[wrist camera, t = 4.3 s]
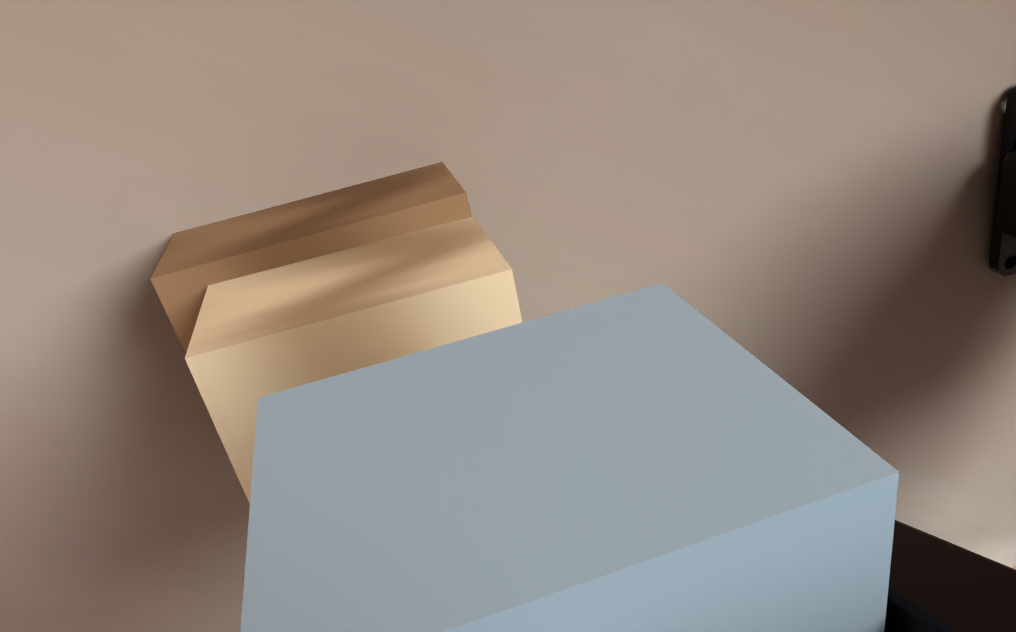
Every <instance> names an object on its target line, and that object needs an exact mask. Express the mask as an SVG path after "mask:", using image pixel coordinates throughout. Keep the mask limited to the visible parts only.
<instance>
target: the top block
mask: <svg viewBox="0 0 1016 632" xmlns="http://www.w3.org/2000/svg"><path fill="white" fill-rule="evenodd" d="M898 481H899V471H898V470H896V469H895V468H894V467H893V466H891V465H890V464H889V463H888V462H886V461H885V460H884V459H883V458H881V457H880V456H879V455H877V454H876V453H875V452H874V451H872V450H871V449H870V448H869V447H867V446H866V445H865V444H864V443H862V442H861V441H860V440H859V439H857V438H856V437H855V436H854V435H852V434H851V433H850V432H849V431H847V430H846V429H845V428H844V427H842V426H841V425H840V424H839V423H837V422H836V421H835V420H834V419H832V418H831V417H830V416H829V415H827V414H826V413H825V412H824V411H822V410H821V409H820V408H819V407H817V406H816V405H815V404H814V403H812V402H811V401H810V400H809V399H807V398H806V397H805V396H804V395H802V394H801V393H800V392H799V391H797V390H796V389H795V388H794V387H792V386H791V385H790V384H789V383H787V382H786V381H785V380H784V379H782V378H781V377H780V376H779V375H777V374H776V373H775V372H773V371H772V370H771V369H770V368H768V367H767V366H766V365H765V364H763V363H762V362H761V361H760V360H758V359H757V358H756V357H755V356H753V355H752V354H751V353H750V352H748V351H747V350H746V349H745V348H743V347H742V346H741V345H740V344H738V343H737V342H736V341H735V340H733V339H732V338H731V337H730V336H728V335H727V334H726V333H725V332H723V331H722V330H721V329H720V328H718V327H717V326H716V325H715V324H713V323H712V322H711V321H710V320H708V319H707V318H706V317H705V316H703V315H702V314H701V313H700V312H698V311H697V310H696V309H695V308H693V307H692V306H691V305H690V304H688V303H687V302H686V301H685V300H683V299H682V298H681V297H680V296H678V295H677V294H676V293H675V292H673V291H672V290H671V289H669V288H668V287H667V286H666V285H664V284H663V283H660V284H656V285H653V286H649V287H646V288H642V289H639V290H635V291H632V292H628V293H625V294H621V295H618V296H614V297H611V298H607V299H604V300H600V301H596V302H593V303H589V304H586V305H582V306H579V307H575V308H572V309H568V310H565V311H561V312H558V313H554V314H551V315H547V316H544V317H540V318H537V319H533V320H530V321H526V322H523V323H519V324H516V325H512V326H508V327H505V328H501V329H498V330H494V331H491V332H487V333H484V334H480V335H477V336H473V337H470V338H466V339H463V340H459V341H456V342H452V343H449V344H445V345H442V346H438V347H435V348H431V349H427V350H424V351H420V352H417V353H413V354H410V355H406V356H403V357H399V358H396V359H392V360H389V361H385V362H382V363H378V364H375V365H371V366H368V367H364V368H361V369H357V370H354V371H350V372H347V373H343V374H339V375H336V376H332V377H329V378H325V379H322V380H318V381H315V382H311V383H308V384H304V385H301V386H297V387H294V388H290V389H287V390H283V391H280V392H276V393H273V394H269V395H266V396H262V397H259V398H258V405H257V418H256V431H255V444H254V457H253V470H252V483H251V497H250V510H249V523H248V536H247V549H246V562H245V576H244V589H243V602H242V615H241V628H240V632H884V629H885V619H886V608H887V597H888V587H889V576H890V566H891V555H892V544H893V534H894V523H895V512H896V502H897V491H898Z"/></svg>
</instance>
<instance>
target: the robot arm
mask: <svg viewBox="0 0 1016 632" xmlns="http://www.w3.org/2000/svg"><path fill="white" fill-rule="evenodd" d="M989 268H990V269H991V270H992V271H994V272H997V273H999V274H1001V275H1004V276H1007V275H1012V274H1015V273H1016V87H1015V88H1014V89H1013V90H1012V91H1011V93H1010V94H1009V96H1008V100H1007V104H1006V113H1005V122H1004V130H1003V139H1002V148H1001V157H1000V166H999V175H998V184H997V193H996V202H995V211H994V219H993V228H992V237H991V246H990V255H989ZM884 632H1016V570H1015V569H1012V568H1010V567H1008V566H1005V565H1003V564H1000V563H998V562H996V561H993V560H991V559H988V558H986V557H983V556H981V555H979V554H976V553H974V552H971V551H969V550H967V549H964V548H962V547H959V546H957V545H954V544H952V543H950V542H947V541H945V540H942V539H940V538H938V537H935V536H933V535H930V534H928V533H925V532H923V531H921V530H918V529H916V528H913V527H911V526H909V525H906V524H904V523H901V522H899V521H896V520H895V523H894V534H893V544H892V555H891V566H890V576H889V587H888V597H887V608H886V619H885V629H884Z"/></svg>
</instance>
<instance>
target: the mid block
mask: <svg viewBox="0 0 1016 632" xmlns="http://www.w3.org/2000/svg"><path fill="white" fill-rule="evenodd" d="M519 323H522V319H521V313H520V308H519V303H518V298H517V293H516V288H515V283H514V277H513V272H512V269H511V267H510V266H509V265H508V263H507V262H506V260H505V259H504V258H503V256H502V255H501V254H500V252H499V251H498V250H497V248H496V247H495V246H494V244H493V243H492V241H491V240H490V239H489V237H488V236H487V235H486V233H485V232H484V231H483V229H482V228H481V226H480V225H479V224H478V222H477V221H476V220H475V218H474V217H470V218H466V219H462V220H458V221H455V222H451V223H447V224H443V225H439V226H435V227H431V228H428V229H424V230H420V231H416V232H412V233H408V234H404V235H401V236H397V237H393V238H389V239H385V240H381V241H377V242H374V243H370V244H366V245H362V246H358V247H354V248H350V249H347V250H343V251H339V252H335V253H331V254H327V255H323V256H320V257H316V258H312V259H308V260H304V261H300V262H297V263H293V264H289V265H285V266H281V267H277V268H273V269H270V270H266V271H262V272H258V273H254V274H250V275H246V276H243V277H239V278H235V279H231V280H227V281H223V282H219V283H216V284H212V285H208V287H207V290H206V293H205V296H204V300H203V303H202V306H201V309H200V312H199V315H198V318H197V321H196V325H195V328H194V331H193V334H192V337H191V340H190V343H189V346H188V350H187V353H186V356H185V360H186V362H187V365H188V367H189V369H190V371H191V374H192V376H193V378H194V380H195V383H196V385H197V387H198V389H199V392H200V394H201V396H202V398H203V401H204V403H205V405H206V407H207V410H208V412H209V414H210V416H211V419H212V421H213V423H214V425H215V428H216V430H217V432H218V434H219V436H220V439H221V441H222V443H223V445H224V448H225V450H226V452H227V454H228V457H229V459H230V461H231V463H232V466H233V468H234V470H235V472H236V475H237V477H238V479H239V481H240V484H241V486H242V488H243V490H244V493H245V495H246V497H247V499H248V502H249V504H250V497H251V483H252V470H253V457H254V444H255V431H256V418H257V405H258V398H259V397H262V396H266V395H269V394H273V393H276V392H280V391H283V390H287V389H290V388H294V387H297V386H301V385H304V384H308V383H311V382H315V381H318V380H322V379H325V378H329V377H332V376H336V375H339V374H343V373H347V372H350V371H354V370H357V369H361V368H364V367H368V366H371V365H375V364H378V363H382V362H385V361H389V360H392V359H396V358H399V357H403V356H406V355H410V354H413V353H417V352H420V351H424V350H427V349H431V348H435V347H438V346H442V345H445V344H449V343H452V342H456V341H459V340H463V339H466V338H470V337H473V336H477V335H480V334H484V333H487V332H491V331H494V330H498V329H501V328H505V327H508V326H512V325H516V324H519Z"/></svg>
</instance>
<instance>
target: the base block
mask: <svg viewBox="0 0 1016 632" xmlns="http://www.w3.org/2000/svg"><path fill="white" fill-rule="evenodd" d="M470 217H472V216H471V211H470V207H469V203H468V199H467V194H466V192H465V191H464V189H463V188H462V187H461V185H460V184H459V183H458V182H457V180H456V179H455V178H454V177H453V175H452V174H451V173H450V172H449V170H448V169H447V168H446V166H445V165H444V164H443V163H442V162H440V163H437V164H433V165H429V166H425V167H422V168H418V169H414V170H410V171H407V172H403V173H399V174H395V175H392V176H388V177H384V178H380V179H377V180H373V181H369V182H365V183H362V184H358V185H354V186H350V187H347V188H343V189H339V190H335V191H332V192H328V193H324V194H320V195H317V196H313V197H309V198H305V199H302V200H298V201H294V202H290V203H287V204H283V205H279V206H275V207H271V208H268V209H264V210H260V211H256V212H253V213H249V214H245V215H241V216H238V217H234V218H230V219H226V220H223V221H219V222H215V223H211V224H208V225H204V226H200V227H196V228H193V229H189V230H185V231H181V232H178V233H174V234H173V236H172V238H171V240H170V242H169V244H168V246H167V248H166V250H165V252H164V253H163V255H162V257H161V259H160V261H159V263H158V265H157V267H156V269H155V271H154V273H153V274H152V276H151V278H150V280H151V282H152V284H153V286H154V288H155V290H156V292H157V295H158V297H159V299H160V301H161V303H162V305H163V307H164V310H165V312H166V314H167V316H168V318H169V320H170V322H171V324H172V327H173V329H174V331H175V333H176V335H177V337H178V339H179V342H180V344H181V346H182V348H183V350H184V352H185V354H186V353H187V350H188V346H189V343H190V340H191V337H192V334H193V331H194V328H195V325H196V321H197V318H198V315H199V312H200V309H201V306H202V303H203V300H204V296H205V293H206V290H207V287H208V285H212V284H216V283H219V282H223V281H227V280H231V279H235V278H239V277H243V276H246V275H250V274H254V273H258V272H262V271H266V270H270V269H273V268H277V267H281V266H285V265H289V264H293V263H297V262H300V261H304V260H308V259H312V258H316V257H320V256H323V255H327V254H331V253H335V252H339V251H343V250H347V249H350V248H354V247H358V246H362V245H366V244H370V243H374V242H377V241H381V240H385V239H389V238H393V237H397V236H401V235H404V234H408V233H412V232H416V231H420V230H424V229H428V228H431V227H435V226H439V225H443V224H447V223H451V222H455V221H458V220H462V219H466V218H470Z"/></svg>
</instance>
